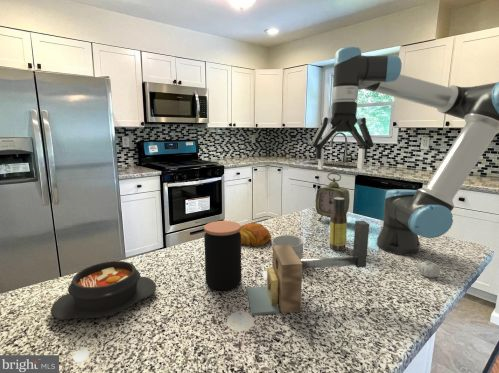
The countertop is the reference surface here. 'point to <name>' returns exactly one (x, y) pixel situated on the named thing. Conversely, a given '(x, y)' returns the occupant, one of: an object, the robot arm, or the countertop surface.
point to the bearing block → (288, 278)
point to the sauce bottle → (338, 225)
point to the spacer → (272, 286)
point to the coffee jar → (222, 255)
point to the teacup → (290, 243)
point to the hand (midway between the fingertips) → (340, 169)
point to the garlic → (429, 269)
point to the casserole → (103, 291)
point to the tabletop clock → (330, 198)
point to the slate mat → (260, 301)
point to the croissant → (254, 234)
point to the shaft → (356, 260)
